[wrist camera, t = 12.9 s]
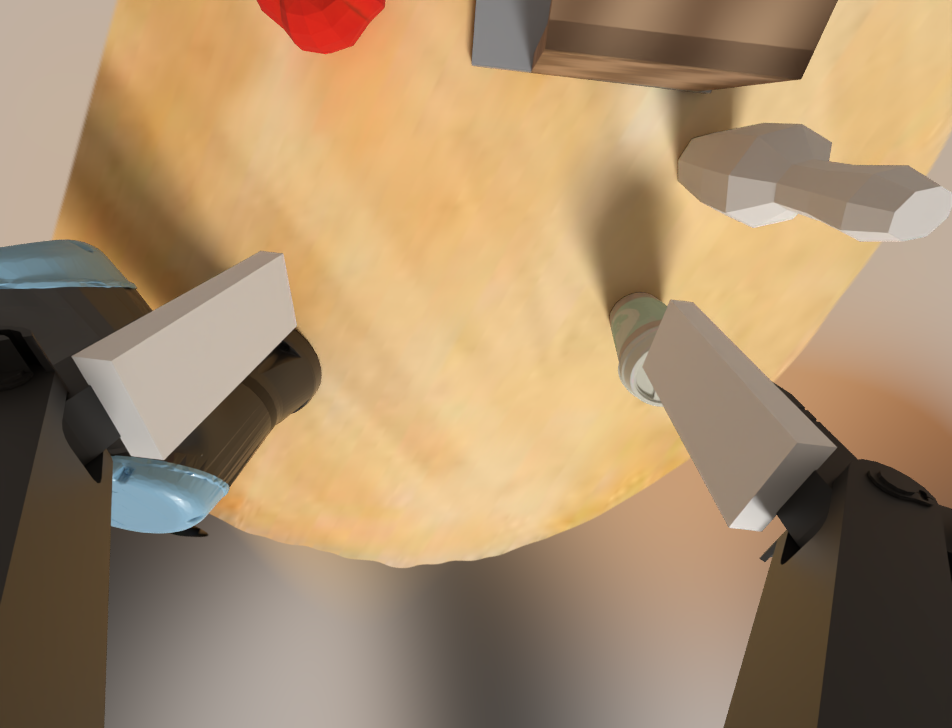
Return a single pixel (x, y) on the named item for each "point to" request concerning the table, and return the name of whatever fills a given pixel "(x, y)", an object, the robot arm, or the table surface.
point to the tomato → (323, 21)
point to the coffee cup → (636, 341)
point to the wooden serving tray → (682, 41)
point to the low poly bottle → (808, 184)
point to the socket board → (513, 34)
